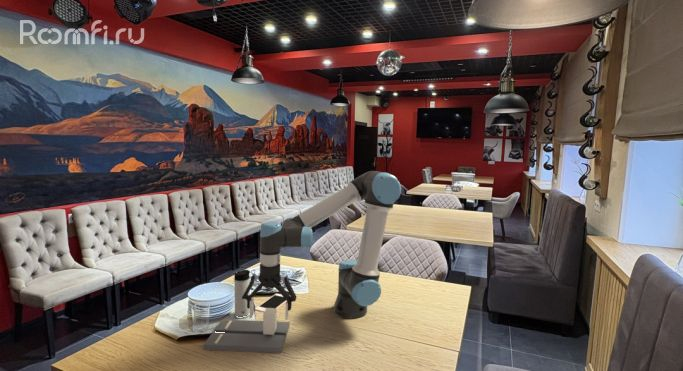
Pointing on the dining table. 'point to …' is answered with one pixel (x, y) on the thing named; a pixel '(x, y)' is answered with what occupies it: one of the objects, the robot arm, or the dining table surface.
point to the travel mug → (241, 292)
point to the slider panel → (247, 337)
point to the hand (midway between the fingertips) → (269, 317)
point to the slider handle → (270, 321)
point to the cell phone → (272, 303)
